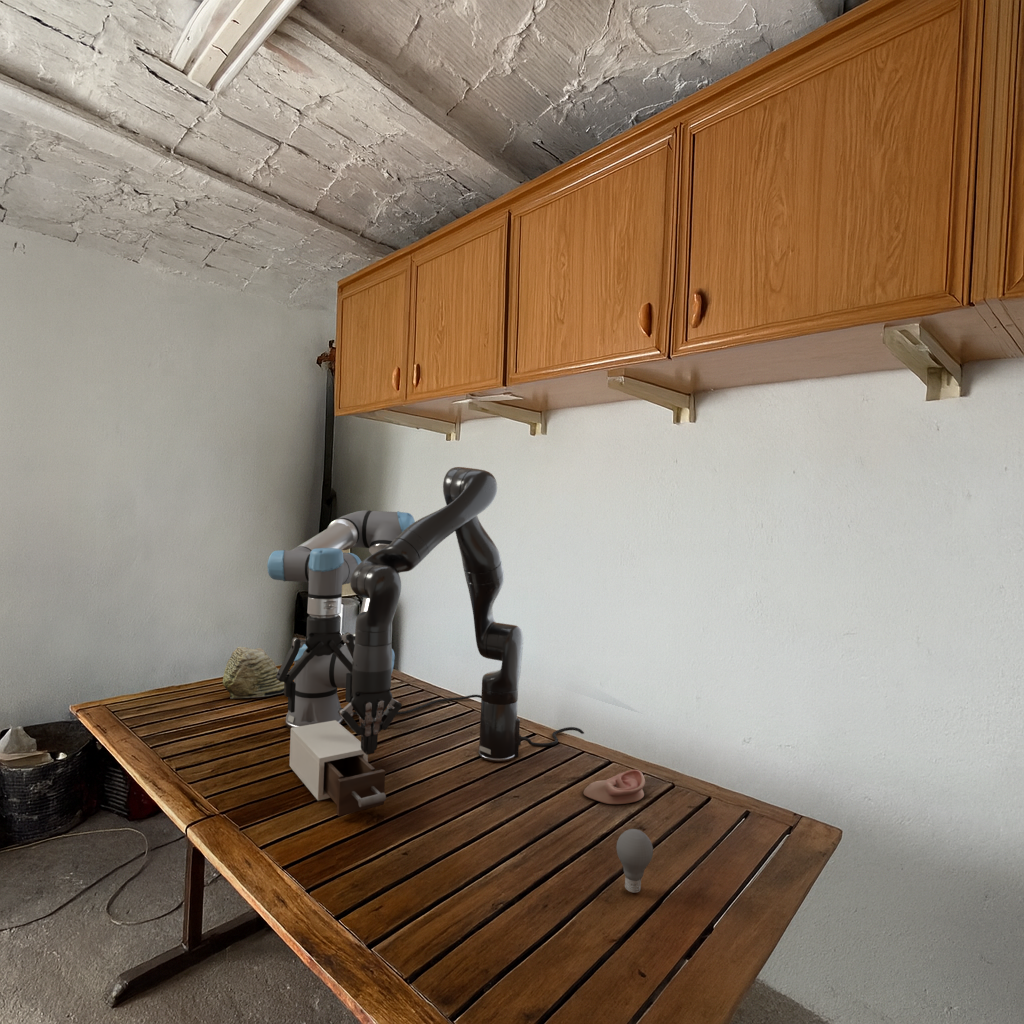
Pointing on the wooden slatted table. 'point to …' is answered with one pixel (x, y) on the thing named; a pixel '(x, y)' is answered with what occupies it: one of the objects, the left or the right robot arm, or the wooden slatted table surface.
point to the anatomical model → (618, 788)
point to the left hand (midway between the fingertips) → (320, 706)
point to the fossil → (251, 674)
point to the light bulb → (634, 857)
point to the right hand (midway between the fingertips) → (368, 752)
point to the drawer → (354, 784)
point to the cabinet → (320, 752)
